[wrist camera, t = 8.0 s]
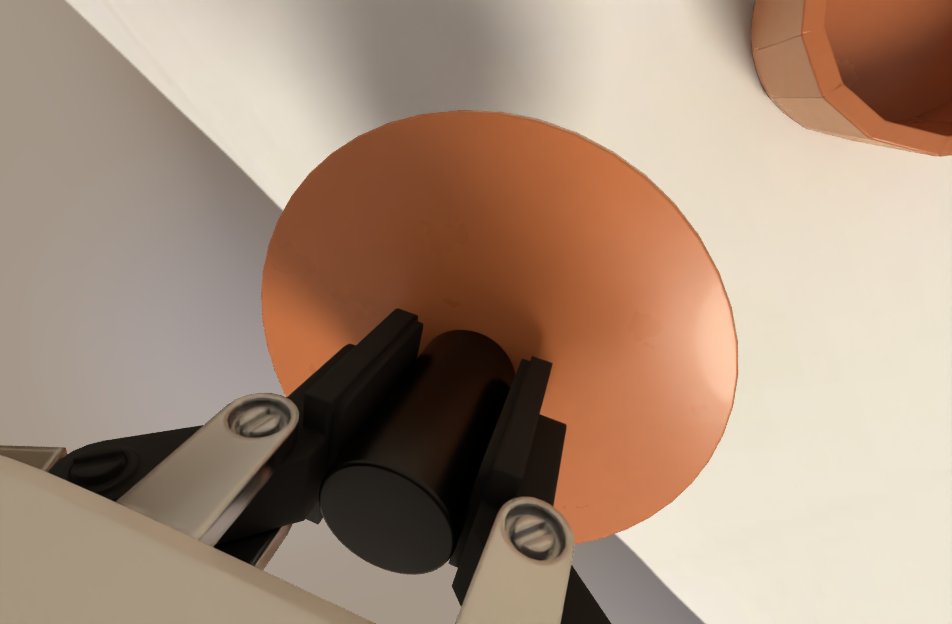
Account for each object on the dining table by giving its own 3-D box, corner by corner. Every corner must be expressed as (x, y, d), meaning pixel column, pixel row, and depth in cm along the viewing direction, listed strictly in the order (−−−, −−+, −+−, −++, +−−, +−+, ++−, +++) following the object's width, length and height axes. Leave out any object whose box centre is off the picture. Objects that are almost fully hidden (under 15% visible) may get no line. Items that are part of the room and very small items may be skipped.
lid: (293, 49, 11) (-7, 2, 6) (846, 200, 9) (1148, 336, 4) (279, 434, 17) (124, 585, 12) (615, 574, 15) (612, 828, 10)
